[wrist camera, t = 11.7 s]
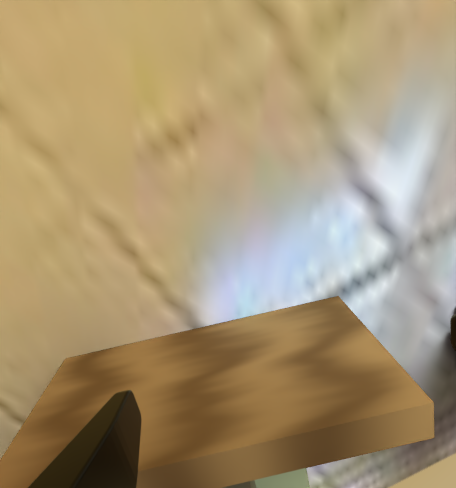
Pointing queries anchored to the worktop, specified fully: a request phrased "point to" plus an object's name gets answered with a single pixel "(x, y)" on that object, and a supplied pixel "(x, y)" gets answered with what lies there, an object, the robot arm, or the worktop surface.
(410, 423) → the wooden board
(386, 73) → the worktop surface
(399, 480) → the worktop surface
